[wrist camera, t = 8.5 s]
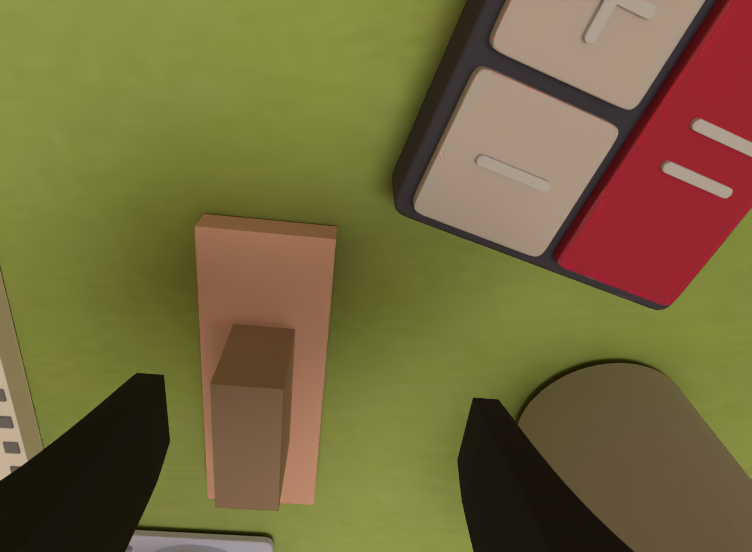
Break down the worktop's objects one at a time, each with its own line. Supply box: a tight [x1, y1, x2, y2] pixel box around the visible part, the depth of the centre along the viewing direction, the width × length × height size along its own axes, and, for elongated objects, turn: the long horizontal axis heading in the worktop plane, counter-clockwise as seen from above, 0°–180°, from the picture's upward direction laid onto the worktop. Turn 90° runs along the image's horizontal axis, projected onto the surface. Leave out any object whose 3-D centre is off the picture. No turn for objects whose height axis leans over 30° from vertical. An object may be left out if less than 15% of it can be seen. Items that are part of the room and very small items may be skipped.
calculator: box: [392, 0, 752, 310], centre depth 16 cm, size 11×4×15 cm
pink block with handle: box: [195, 214, 337, 511], centre depth 21 cm, size 14×5×5 cm, turn 174°
